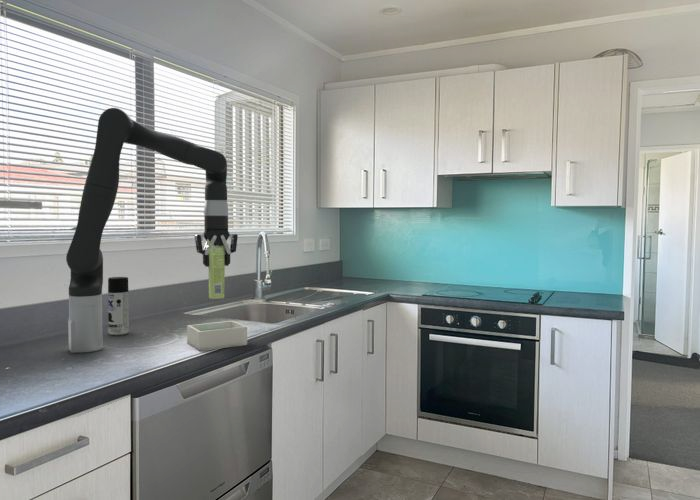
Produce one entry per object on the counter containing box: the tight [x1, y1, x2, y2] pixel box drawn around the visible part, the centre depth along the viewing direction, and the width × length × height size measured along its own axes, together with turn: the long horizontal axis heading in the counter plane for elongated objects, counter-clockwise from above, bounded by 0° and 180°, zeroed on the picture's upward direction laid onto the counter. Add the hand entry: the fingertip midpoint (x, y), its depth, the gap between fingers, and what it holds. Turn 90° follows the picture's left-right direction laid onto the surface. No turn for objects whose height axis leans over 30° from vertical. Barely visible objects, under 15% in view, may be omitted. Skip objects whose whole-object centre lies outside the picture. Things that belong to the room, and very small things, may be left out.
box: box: [186, 320, 248, 352], centre depth 174 cm, size 16×12×6 cm
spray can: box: [107, 276, 130, 336], centre depth 188 cm, size 7×7×20 cm
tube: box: [206, 239, 226, 300], centre depth 173 cm, size 6×5×20 cm
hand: (216, 265), depth 173 cm, fingers closed on tube, 6 cm apart
